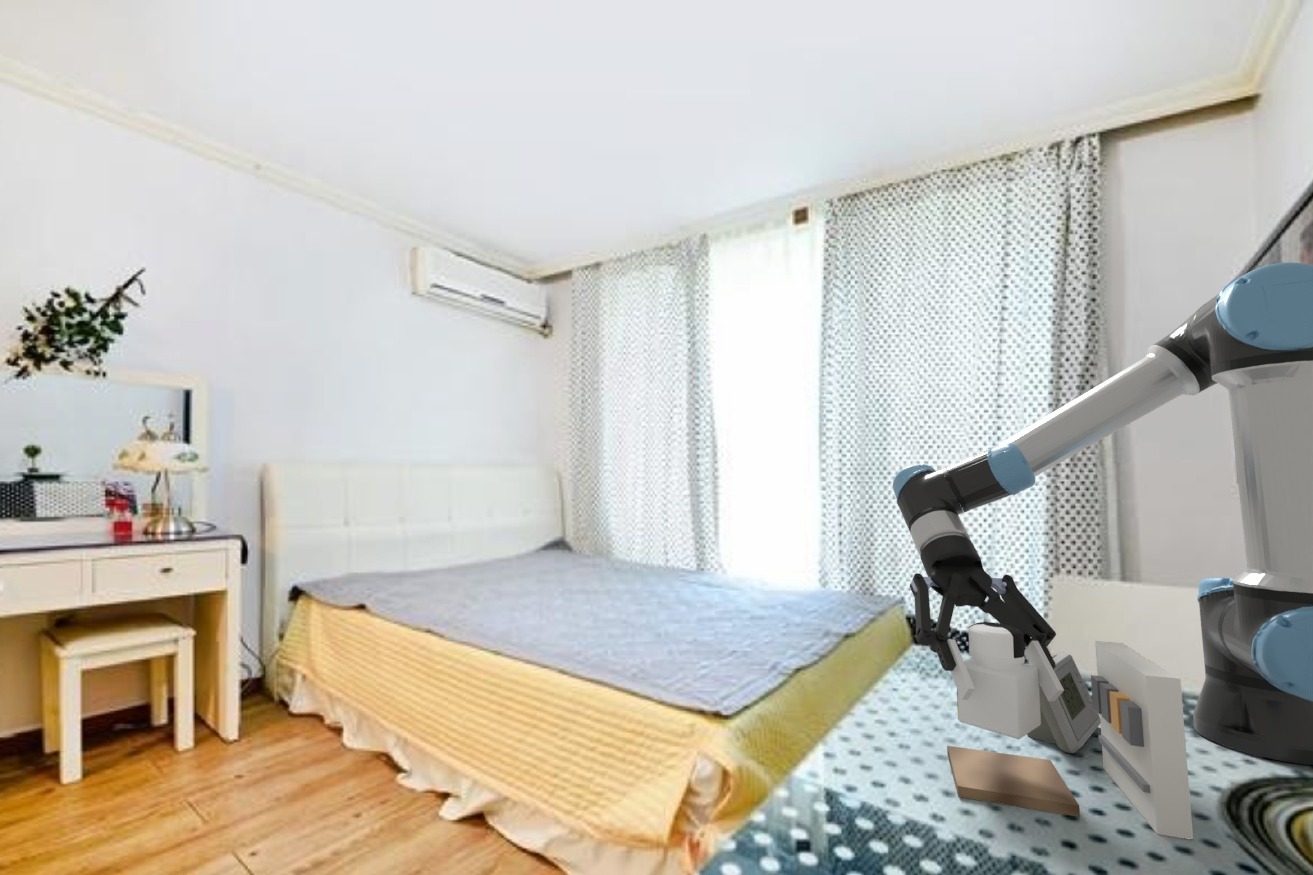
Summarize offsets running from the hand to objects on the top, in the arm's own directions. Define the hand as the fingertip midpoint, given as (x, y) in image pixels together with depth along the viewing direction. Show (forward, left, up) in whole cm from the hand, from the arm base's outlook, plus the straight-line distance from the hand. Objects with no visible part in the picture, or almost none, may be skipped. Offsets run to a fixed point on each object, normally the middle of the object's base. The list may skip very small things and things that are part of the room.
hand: (1012, 695), depth 71 cm
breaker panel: (-13, -4, -11) cm, 18 cm away
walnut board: (+1, -3, -11) cm, 12 cm away
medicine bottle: (+1, -3, -5) cm, 6 cm away
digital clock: (-11, -22, -12) cm, 27 cm away
